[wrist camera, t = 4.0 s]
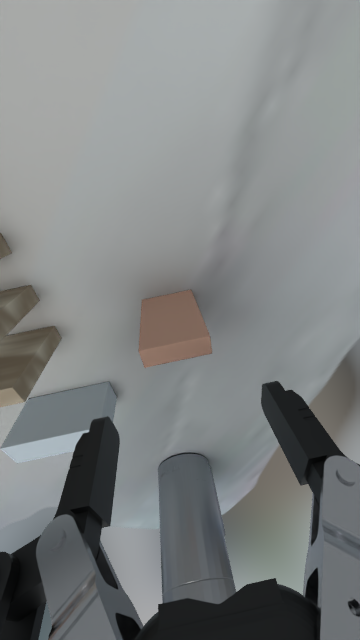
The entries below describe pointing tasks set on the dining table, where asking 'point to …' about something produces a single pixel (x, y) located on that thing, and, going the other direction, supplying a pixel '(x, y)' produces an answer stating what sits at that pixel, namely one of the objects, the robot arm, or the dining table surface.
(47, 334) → the domino
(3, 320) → the domino
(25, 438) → the end block
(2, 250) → the domino
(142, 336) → the domino
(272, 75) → the dining table surface
